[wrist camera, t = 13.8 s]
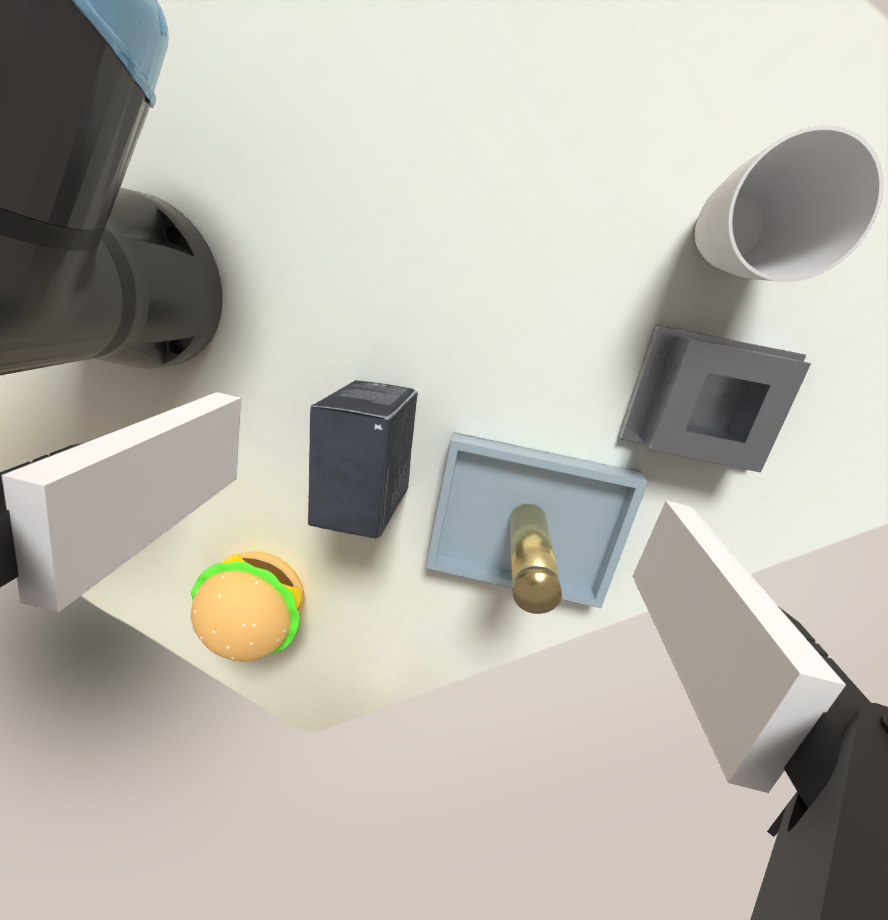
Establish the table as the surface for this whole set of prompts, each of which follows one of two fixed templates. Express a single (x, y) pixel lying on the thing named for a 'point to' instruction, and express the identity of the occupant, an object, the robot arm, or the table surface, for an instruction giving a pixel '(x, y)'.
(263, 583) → the hamburger
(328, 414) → the box
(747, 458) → the block
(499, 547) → the tray
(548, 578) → the pin
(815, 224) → the cup
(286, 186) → the table surface
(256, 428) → the table surface
